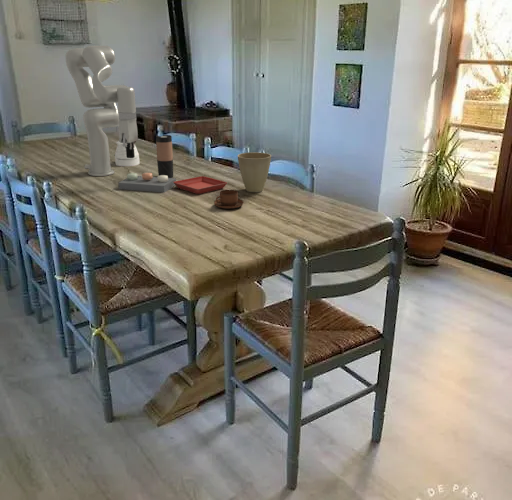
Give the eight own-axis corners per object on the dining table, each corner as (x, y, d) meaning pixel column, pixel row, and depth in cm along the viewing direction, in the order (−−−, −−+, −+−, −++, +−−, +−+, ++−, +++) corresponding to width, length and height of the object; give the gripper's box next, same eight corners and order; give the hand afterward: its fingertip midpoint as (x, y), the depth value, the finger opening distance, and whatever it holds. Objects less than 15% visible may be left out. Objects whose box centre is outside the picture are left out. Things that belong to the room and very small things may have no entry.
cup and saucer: (232, 212, 203) (232, 197, 201) (208, 207, 209) (207, 193, 207) (249, 205, 213) (249, 190, 211) (225, 200, 219) (225, 186, 217)
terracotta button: (140, 179, 235) (140, 174, 234) (145, 177, 239) (144, 172, 239) (150, 180, 234) (149, 175, 233) (154, 177, 238) (153, 173, 238)
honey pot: (110, 164, 281) (107, 131, 274) (124, 160, 292) (122, 127, 285) (130, 167, 276) (127, 132, 270) (144, 162, 287) (141, 129, 281)
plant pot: (274, 187, 239) (275, 153, 233) (264, 196, 226) (265, 159, 220) (244, 184, 243) (244, 151, 237) (232, 192, 230) (232, 157, 224)
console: (119, 189, 234) (118, 182, 233) (132, 181, 247) (132, 175, 246) (164, 192, 230) (164, 185, 229) (176, 184, 242) (175, 178, 241)
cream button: (156, 182, 234) (155, 177, 233) (160, 179, 238) (159, 174, 237) (165, 182, 233) (165, 177, 232) (169, 180, 237) (169, 175, 236)
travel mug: (170, 179, 252) (168, 137, 245) (155, 178, 254) (153, 137, 246) (176, 175, 259) (174, 135, 252) (161, 174, 260) (159, 134, 253)
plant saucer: (202, 182, 249) (202, 175, 248) (228, 189, 237) (228, 182, 236) (172, 188, 237) (172, 181, 236) (197, 196, 225) (197, 189, 224)
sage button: (125, 179, 237) (125, 175, 236) (130, 177, 241) (129, 172, 240) (134, 180, 236) (134, 175, 235) (139, 178, 240) (138, 173, 240)
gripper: (127, 113, 236) (130, 153, 243) (111, 118, 223) (115, 160, 230) (142, 114, 234) (145, 154, 241) (127, 119, 221) (130, 161, 228)
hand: (130, 157), depth 235 cm, fingers closed
